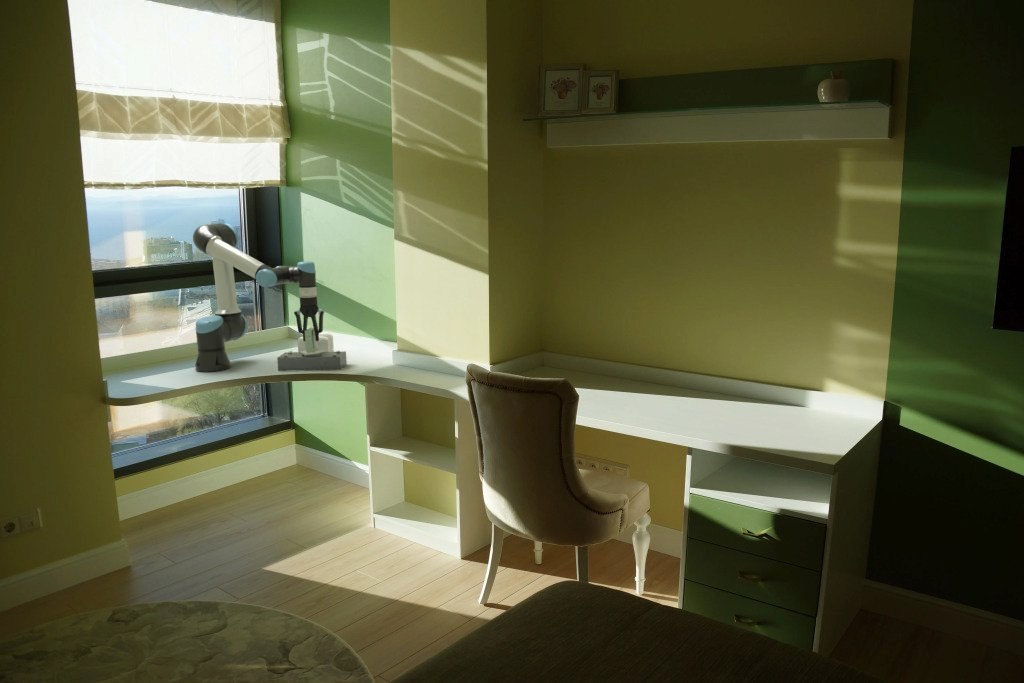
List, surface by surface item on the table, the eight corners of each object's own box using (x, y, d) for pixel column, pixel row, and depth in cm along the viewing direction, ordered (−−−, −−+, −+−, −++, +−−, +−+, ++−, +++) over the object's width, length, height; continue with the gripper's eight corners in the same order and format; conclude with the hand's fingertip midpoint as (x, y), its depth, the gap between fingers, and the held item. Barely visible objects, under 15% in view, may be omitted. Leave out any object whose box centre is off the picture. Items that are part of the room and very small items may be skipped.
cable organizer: (336, 357, 399) (334, 333, 397) (328, 361, 388) (327, 337, 386) (305, 357, 401) (304, 333, 398) (297, 361, 390) (296, 337, 388)
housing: (278, 370, 370) (277, 355, 369) (286, 365, 382) (285, 350, 381) (340, 369, 369) (339, 354, 368) (346, 364, 381) (345, 349, 380)
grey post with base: (299, 367, 371) (296, 331, 368) (305, 362, 380) (302, 327, 377) (320, 367, 371) (318, 330, 368) (325, 362, 380) (323, 327, 377)
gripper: (287, 297, 366) (291, 350, 371) (324, 297, 366) (327, 349, 370) (292, 295, 374) (296, 346, 378) (328, 295, 373) (331, 346, 378)
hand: (311, 348), depth 374 cm, fingers closed on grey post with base, 3 cm apart
